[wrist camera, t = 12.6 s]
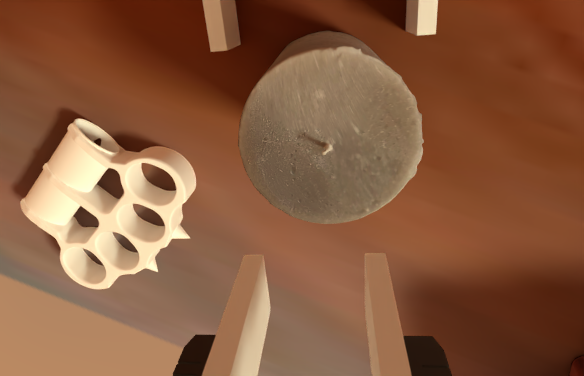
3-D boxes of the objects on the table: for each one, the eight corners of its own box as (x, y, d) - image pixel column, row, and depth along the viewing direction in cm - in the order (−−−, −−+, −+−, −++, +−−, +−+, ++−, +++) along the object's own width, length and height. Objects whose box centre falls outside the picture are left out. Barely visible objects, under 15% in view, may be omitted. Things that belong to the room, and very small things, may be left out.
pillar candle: (268, 143, 35) (233, 232, 21) (270, 25, 31) (227, 43, 17) (377, 149, 34) (412, 245, 21) (394, 31, 30) (452, 54, 17)
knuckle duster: (103, 88, 35) (230, 192, 38) (22, 213, 41) (136, 292, 45) (81, 96, 32) (221, 208, 35) (-3, 230, 38) (121, 313, 42)
